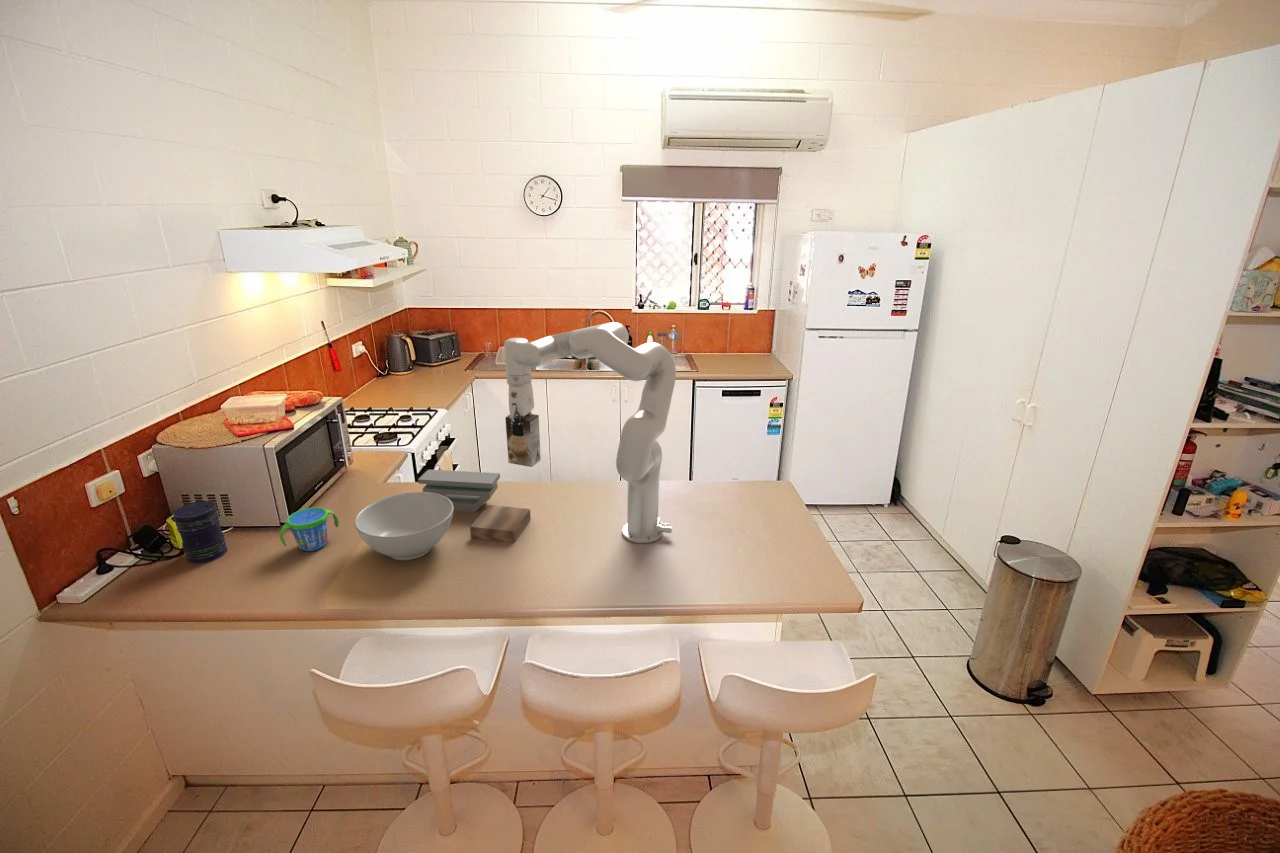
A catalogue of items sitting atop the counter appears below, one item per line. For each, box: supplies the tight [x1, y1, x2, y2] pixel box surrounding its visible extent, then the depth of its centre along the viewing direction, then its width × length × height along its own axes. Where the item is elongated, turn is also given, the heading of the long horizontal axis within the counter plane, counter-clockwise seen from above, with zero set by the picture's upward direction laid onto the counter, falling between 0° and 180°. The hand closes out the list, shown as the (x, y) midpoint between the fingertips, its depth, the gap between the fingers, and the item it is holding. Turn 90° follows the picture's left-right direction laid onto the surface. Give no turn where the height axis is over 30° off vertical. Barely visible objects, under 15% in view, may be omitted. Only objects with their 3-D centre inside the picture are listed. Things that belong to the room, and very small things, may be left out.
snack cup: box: [279, 506, 340, 552], centre depth 174 cm, size 16×10×10 cm
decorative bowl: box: [353, 491, 454, 561], centre depth 173 cm, size 27×27×12 cm
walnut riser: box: [469, 504, 532, 544], centre depth 186 cm, size 14×14×4 cm
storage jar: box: [172, 500, 228, 565], centre depth 169 cm, size 10×10×15 cm
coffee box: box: [504, 413, 542, 468], centre depth 191 cm, size 9×6×16 cm
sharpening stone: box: [417, 469, 501, 513], centre depth 199 cm, size 25×8×11 cm, turn 84°
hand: (522, 431), depth 190 cm, fingers closed on coffee box, 7 cm apart
